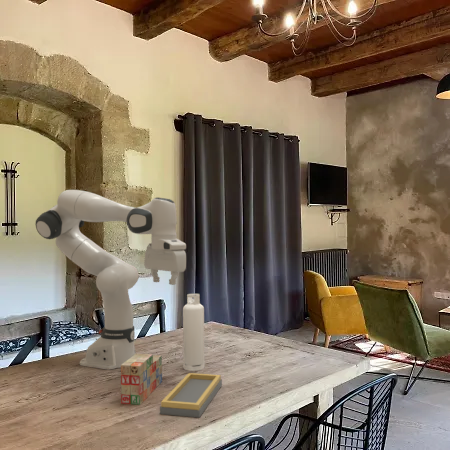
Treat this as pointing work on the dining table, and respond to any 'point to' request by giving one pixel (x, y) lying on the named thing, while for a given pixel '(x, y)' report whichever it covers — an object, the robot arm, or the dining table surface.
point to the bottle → (193, 334)
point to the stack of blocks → (140, 377)
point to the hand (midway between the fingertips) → (164, 283)
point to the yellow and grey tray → (191, 395)
